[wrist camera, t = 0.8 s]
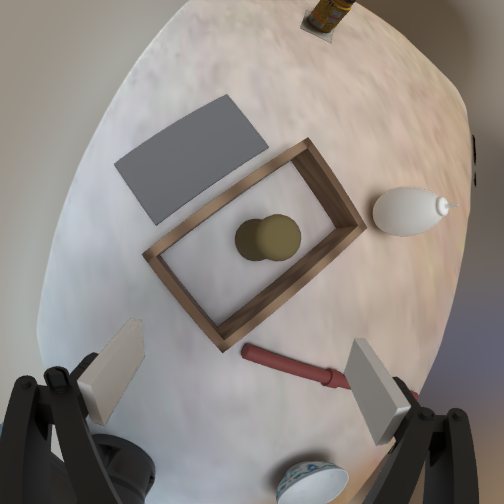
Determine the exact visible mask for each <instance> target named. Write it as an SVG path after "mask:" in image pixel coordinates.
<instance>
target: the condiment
mask: <svg viewBox="0 0 504 504" xmlns="http://www.w3.org/2000/svg"><path fill="white" fill-rule="evenodd" d="M355 1H356V0H320V1H319V3H318V4H317V5H316V7H315V8H314V10H313V11H312V12H310V11H306V14H305V16H304V19H303V22H302V25H301V28H302V29H304V30H306V31H308V32H310V33H312V34H314V35H316V36H318V37H320V38H322V39H324V40H326V41H328V42H330V43H331V42H332V37H333V32H334V28H335V27H336V26H337V24H338V23H339V22H340V21H341V20H342V18H344V16H345V15H346V14H347V13H348V12H349V11H350V9H351V6H352V5H353V3H355ZM324 33H325V34H324Z"/></svg>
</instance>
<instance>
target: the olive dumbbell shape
mask: <svg viewBox="0 0 504 504" xmlns="http://www.w3.org/2000/svg"><path fill="white" fill-rule="evenodd" d="M300 243H301V232H300V230H299V227H298V225H297V224H296V223H295V221H294V220H292V219H291V218H289V217H287V216H284V215H281V214H274V215H271V216H269V217H266V218H265V219H263V220H261V219H251V220H248V221H245V222H244V223H243V224H242V225H240V227H239V228H238V230H237V232H236V236H235V245H236V248H237V250H238V252H239V253H240V254H241V255H242V256H243V257H244V258H246V259H247V260H251V261H261V260H264V259H269V260H273V261H284V260H287V259H289V258H291V257H292V256H293V255H294V254H295V253H296V252H297V250H298V249H299V247H300Z"/></svg>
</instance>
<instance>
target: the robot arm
mask: <svg viewBox="0 0 504 504" xmlns="http://www.w3.org/2000/svg"><path fill="white" fill-rule="evenodd" d="M144 357H145V352H144V343H143V332H142V320H138V319H132V318H130V319H129V320H128V322H127V323H126V324H125V325H124V326H123V327H122V328H121V329H120V331H119V332H118V333H117V334H116V335H115V336H114V337H113V339H112V340H111V341H110V342H109V343H108V344H107V345H106V347H105V348H104V349H103V350H102V351H101V352H100V354H97V353H94V352H93V353H91V354H89V355H87V356H86V357H85V358H84V359H83V360H82V361H81V363H79V365H78V367H76V368H75V369H74V370H73V371H72V372H71V374H70V375H69V373H68V371H67V369H65V368H64V367H60V366H54V367H51V368H49V369H47V370H46V371H45V373H44V379H45V382H46V384H47V386H43V385H38V384H37V381H36V380H35V378H34V377H32V376H28V375H27V376H21V377H19V378H18V379H17V380H16V382H15V384H14V388H13V390H12V393H11V397H10V400H9V404H8V407H7V411H6V415H5V419H4V422H3V423H2V424H0V504H144V501H145V498H146V496H147V494H148V492H149V491H150V489H151V487H152V485H153V483H154V481H155V466H154V463H153V461H152V460H151V458H150V457H149V456H148V455H147V454H146V453H145V452H144V451H143V450H142V449H140V448H139V447H137V446H136V445H134V444H132V443H130V442H128V441H126V440H124V439H121V438H118V437H115V436H110V435H103V434H96V435H91V433H90V431H89V428H88V425H87V422H86V420H85V419H86V417H87V415H88V414H89V417H90V419H91V421H92V422H94V423H97V424H100V425H103V426H105V424H106V423H107V421H108V419H109V417H110V416H111V414H112V412H113V410H114V408H115V407H116V405H117V403H118V402H119V400H120V398H121V396H122V395H123V393H124V391H125V389H126V388H127V386H128V384H129V383H130V381H131V379H132V378H133V376H134V374H135V372H136V371H137V369H138V367H139V366H140V364H141V362H142V361H143V359H144ZM344 375H345V377H346V379H347V381H348V383H349V386H350V388H351V390H352V392H353V394H354V397H355V399H356V401H357V403H358V406H359V408H360V410H361V412H362V414H363V417H364V419H365V421H366V424H367V426H368V428H369V430H370V433H371V435H372V437H373V440H374V442H375V444H376V446H377V445H383V444H388V443H389V442H390V441H391V439H392V438H393V436H394V437H395V439H396V442H395V443H394V445H393V446H392V448H391V449H390V451H389V452H388V454H389V456H388V458H387V460H386V462H385V464H384V466H383V468H382V470H381V472H380V473H379V475H378V477H377V479H376V481H375V483H374V484H373V486H372V488H371V490H370V491H369V493H368V495H367V496H366V498H365V500H364V501H363V503H362V504H408V503H409V501H410V498H411V496H412V494H413V491H414V489H415V486H416V484H417V481H418V478H419V475H420V473H421V470H422V467H423V464H424V461H425V460H426V461H425V462H426V463H425V483H424V495H423V504H479V491H478V477H477V467H476V460H475V452H474V446H473V440H472V434H471V429H470V424H469V420H468V416H467V414H466V413H465V412H464V411H463V410H461V409H459V408H452V409H450V410H449V412H448V413H447V415H435V413H434V412H433V411H432V410H431V409H429V408H425V407H421V406H420V405H419V403H418V402H417V400H416V399H415V397H414V396H413V394H412V393H410V390H409V389H408V388H407V386H406V384H405V383H404V382H403V381H402V380H401V379H399V378H398V377H391V375H390V374H389V372H388V371H387V369H386V368H385V366H384V365H383V363H382V362H381V360H380V359H379V358H378V356H377V355H376V353H375V352H374V350H373V349H372V348H371V346H370V345H369V343H368V342H367V340H366V339H365V338H354V342H353V345H352V348H351V352H350V355H349V358H348V362H347V365H346V368H345V371H344ZM52 424H53V425H55V428H56V433H57V437H58V441H59V445H60V449H61V452H62V456H63V459H64V462H63V461H62V460H60V459H59V458H58V457H57V456H56V455H55V454H53V453H52V452H51V436H52ZM425 458H426V459H425Z"/></svg>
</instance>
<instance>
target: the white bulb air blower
mask: <svg viewBox="0 0 504 504" xmlns="http://www.w3.org/2000/svg"><path fill="white" fill-rule="evenodd" d="M458 205H459V204H448V202H447V200H446V199H445V198H443V197H439V196H437V195H436V194H434V193H432V192H430V191H428V190H425V189H422V188H417V187H398V188H394V189H391V190H389V191H387V192H385V193H384V194H383V195H381V196H380V197H379V199H378V200H377V201H376V203H375V205H374V208H373V219H374V222H375V224H376V225H377V226H378V227H379V228H380V229H381V230H383V231H384V232H386V233H388V234H390V235H394V236H400V237H407V236H414V235H418V234H420V233H423V232H425V231H427V230H428V229H430V228H432V227H433V226H435V225H436V224H437V223H438V222H439V221H440V219H441V218H442V216H446V215H447V213H448V209H449V207H454V206H458Z"/></svg>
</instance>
